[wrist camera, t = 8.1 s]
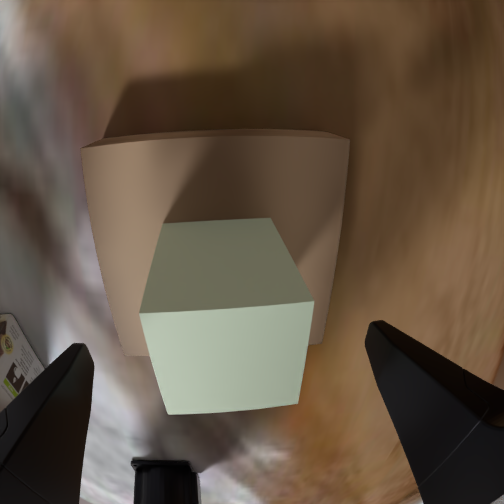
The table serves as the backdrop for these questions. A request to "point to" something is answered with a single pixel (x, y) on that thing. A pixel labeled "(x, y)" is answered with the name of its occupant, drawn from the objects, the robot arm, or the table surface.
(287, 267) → the sage block
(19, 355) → the coffee box
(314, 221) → the walnut riser block
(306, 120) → the table surface
